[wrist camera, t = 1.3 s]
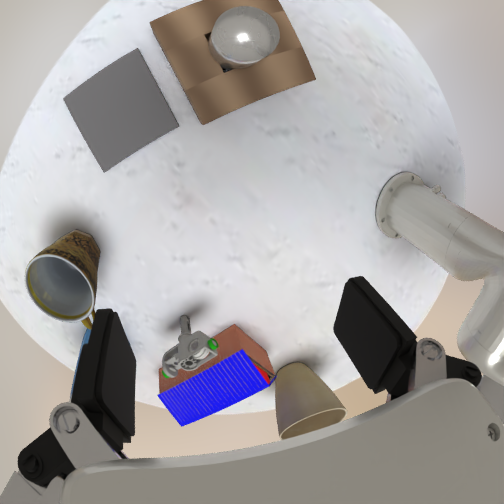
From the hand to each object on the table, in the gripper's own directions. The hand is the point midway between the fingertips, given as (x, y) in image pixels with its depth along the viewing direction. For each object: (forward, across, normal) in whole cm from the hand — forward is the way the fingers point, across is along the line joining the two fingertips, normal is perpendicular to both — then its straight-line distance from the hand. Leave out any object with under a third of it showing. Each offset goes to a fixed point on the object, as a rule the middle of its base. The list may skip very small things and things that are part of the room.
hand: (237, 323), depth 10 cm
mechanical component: (+27, +4, +24) cm, 36 cm away
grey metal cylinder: (+27, -4, -16) cm, 31 cm away
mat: (+27, +10, -9) cm, 30 cm away
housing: (+27, -4, -16) cm, 31 cm away
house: (+27, 0, +37) cm, 46 cm away
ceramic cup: (+27, +18, +11) cm, 34 cm away
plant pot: (+27, -17, +46) cm, 56 cm away
